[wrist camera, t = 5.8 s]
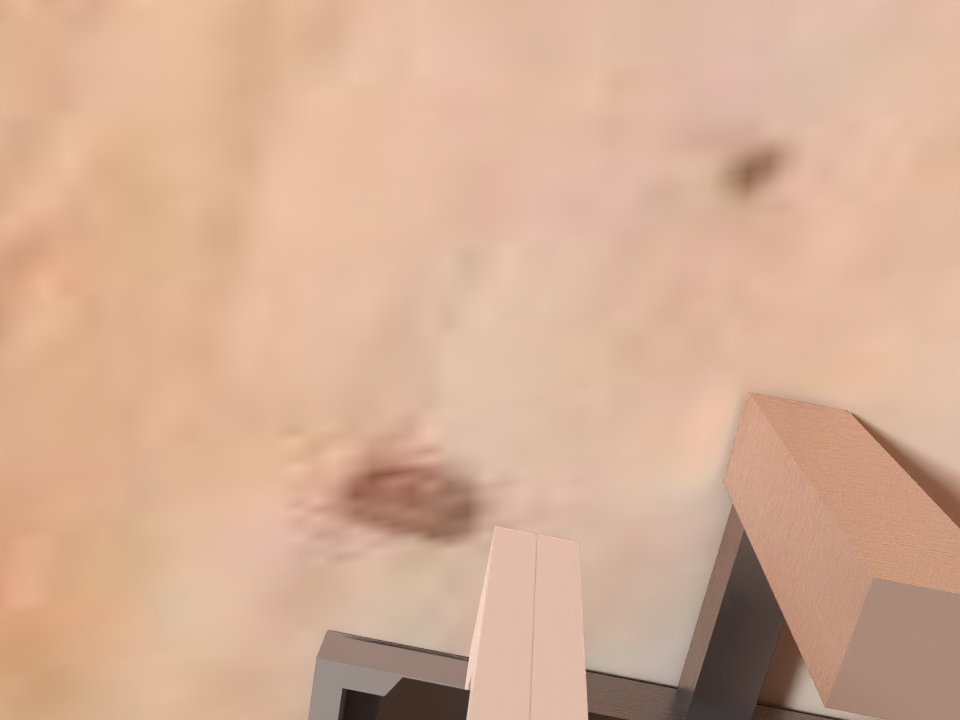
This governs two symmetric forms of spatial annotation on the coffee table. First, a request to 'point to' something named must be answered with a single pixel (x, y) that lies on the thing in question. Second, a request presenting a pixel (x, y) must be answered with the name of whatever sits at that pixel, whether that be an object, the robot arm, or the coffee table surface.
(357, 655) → the tray
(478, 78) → the coffee table surface
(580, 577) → the robot arm
